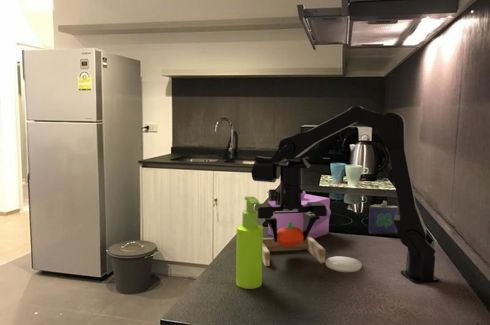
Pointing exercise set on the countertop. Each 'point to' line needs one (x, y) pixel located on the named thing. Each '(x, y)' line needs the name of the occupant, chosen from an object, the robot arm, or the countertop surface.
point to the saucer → (343, 264)
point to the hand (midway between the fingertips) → (289, 241)
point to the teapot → (297, 218)
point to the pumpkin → (290, 236)
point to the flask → (382, 219)
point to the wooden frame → (304, 245)
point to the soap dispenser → (249, 248)
